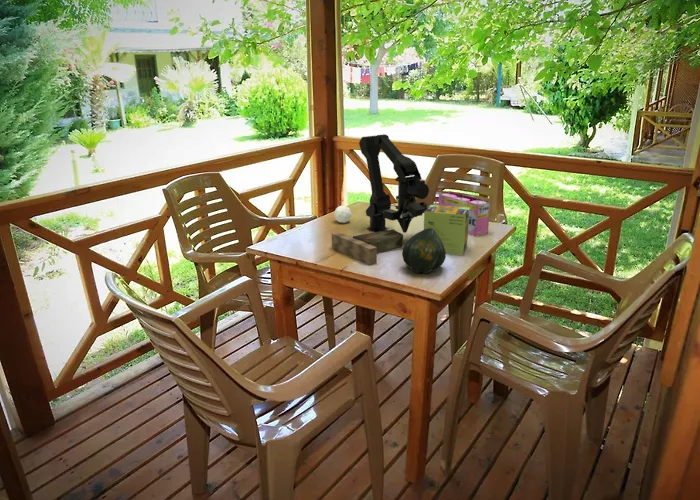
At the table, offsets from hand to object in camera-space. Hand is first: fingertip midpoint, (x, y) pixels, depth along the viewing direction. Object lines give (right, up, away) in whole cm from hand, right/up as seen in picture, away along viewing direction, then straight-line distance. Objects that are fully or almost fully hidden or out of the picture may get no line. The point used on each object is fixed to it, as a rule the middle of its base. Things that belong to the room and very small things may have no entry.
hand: (404, 232), depth 197 cm
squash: (+3, -14, -27) cm, 30 cm away
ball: (-25, +5, +27) cm, 37 cm away
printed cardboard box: (-11, -7, -7) cm, 15 cm away
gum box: (+26, +2, +16) cm, 31 cm away
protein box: (+15, -7, -8) cm, 18 cm away
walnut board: (-21, -9, -13) cm, 26 cm away
